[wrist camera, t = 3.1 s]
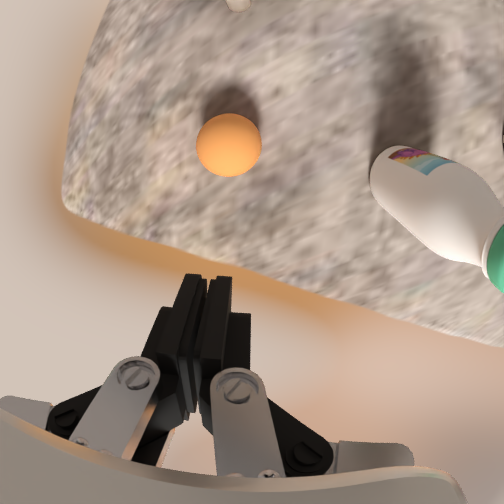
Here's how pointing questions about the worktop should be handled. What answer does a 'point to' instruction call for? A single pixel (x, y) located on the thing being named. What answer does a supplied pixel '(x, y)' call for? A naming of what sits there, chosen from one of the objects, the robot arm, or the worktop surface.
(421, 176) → the milk bottle
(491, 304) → the worktop surface
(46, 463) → the robot arm
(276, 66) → the worktop surface
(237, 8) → the pin
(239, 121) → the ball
